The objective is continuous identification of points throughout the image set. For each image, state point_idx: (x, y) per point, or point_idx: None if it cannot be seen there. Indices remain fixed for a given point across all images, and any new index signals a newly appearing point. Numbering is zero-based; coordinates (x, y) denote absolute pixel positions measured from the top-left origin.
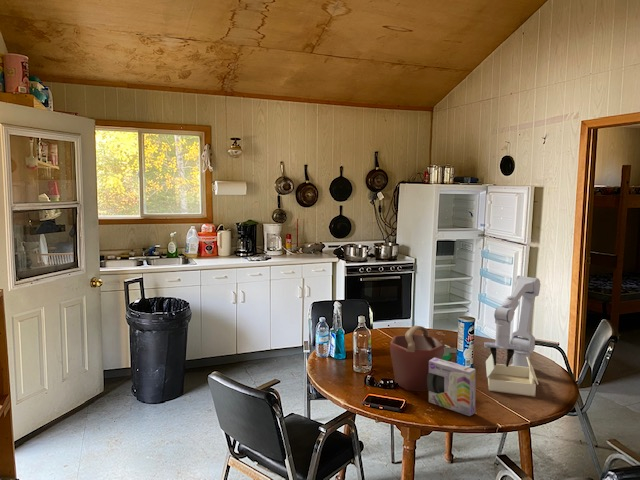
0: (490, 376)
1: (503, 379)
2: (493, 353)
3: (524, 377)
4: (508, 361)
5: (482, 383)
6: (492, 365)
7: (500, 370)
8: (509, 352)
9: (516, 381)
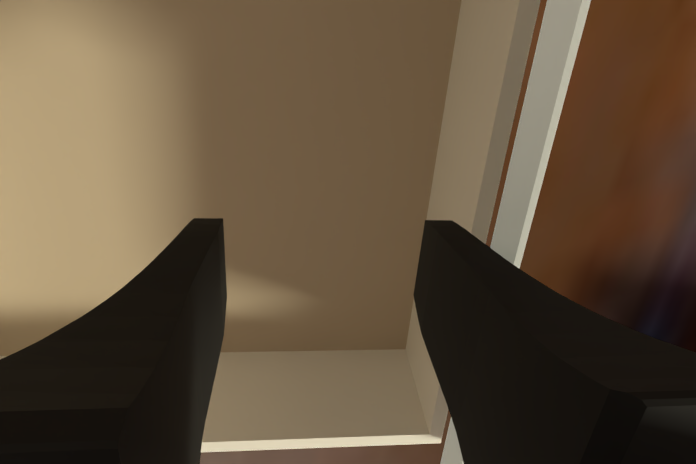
0: (401, 264)
1: (261, 224)
2: (650, 353)
3: (23, 342)
4: (167, 264)
5: (530, 59)
6: (570, 49)
7: (286, 382)
8: (57, 435)
9: (105, 209)
